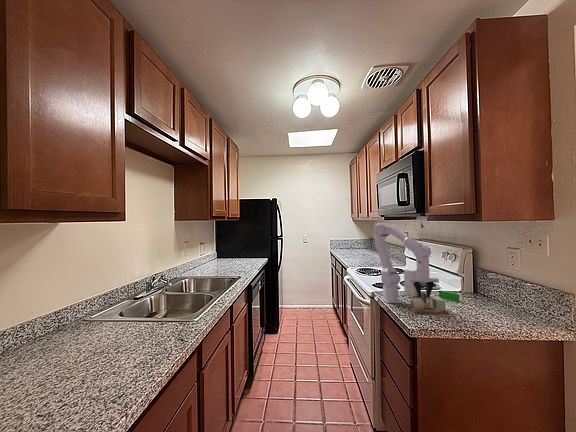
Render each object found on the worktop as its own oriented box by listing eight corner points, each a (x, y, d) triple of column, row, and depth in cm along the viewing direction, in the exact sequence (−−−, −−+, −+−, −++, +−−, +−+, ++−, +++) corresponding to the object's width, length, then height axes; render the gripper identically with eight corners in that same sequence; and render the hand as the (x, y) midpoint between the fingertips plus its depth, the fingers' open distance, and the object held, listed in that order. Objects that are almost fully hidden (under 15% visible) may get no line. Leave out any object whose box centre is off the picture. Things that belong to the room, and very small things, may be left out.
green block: (462, 302, 150) (462, 293, 150) (458, 303, 148) (458, 294, 148) (443, 297, 160) (442, 289, 160) (438, 298, 158) (438, 290, 158)
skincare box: (410, 292, 171) (409, 267, 171) (421, 294, 166) (420, 268, 166) (403, 295, 166) (403, 269, 166) (414, 297, 161) (413, 270, 161)
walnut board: (406, 306, 144) (406, 304, 144) (435, 305, 144) (435, 304, 144) (416, 314, 132) (416, 311, 132) (448, 313, 132) (448, 311, 132)
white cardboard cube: (410, 306, 140) (410, 298, 140) (420, 306, 140) (420, 298, 140) (414, 309, 136) (413, 301, 136) (424, 309, 136) (424, 301, 136)
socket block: (431, 305, 141) (431, 296, 141) (438, 305, 141) (437, 296, 141) (438, 309, 134) (437, 300, 134) (445, 309, 134) (445, 300, 134)
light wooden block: (412, 305, 140) (411, 292, 140) (428, 305, 139) (427, 292, 140) (414, 307, 137) (414, 293, 137) (431, 307, 136) (430, 293, 137)
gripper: (411, 271, 135) (412, 299, 134) (441, 271, 134) (442, 299, 134) (406, 269, 142) (406, 295, 141) (434, 268, 141) (435, 295, 141)
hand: (423, 297), depth 138 cm, fingers open, 4 cm apart
